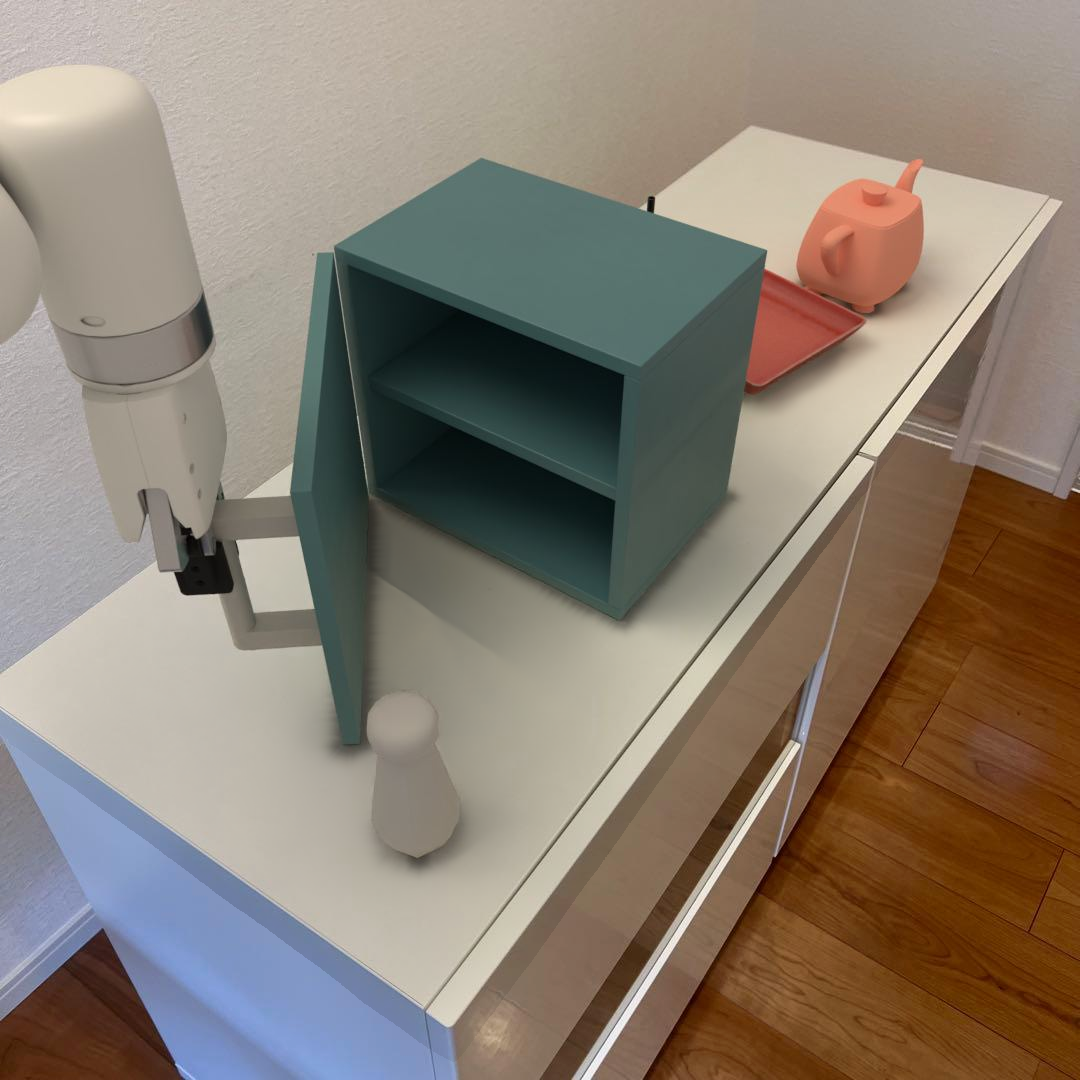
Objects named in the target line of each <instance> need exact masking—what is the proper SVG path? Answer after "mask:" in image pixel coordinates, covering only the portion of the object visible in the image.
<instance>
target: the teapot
mask: <svg viewBox="0 0 1080 1080" xmlns="http://www.w3.org/2000/svg"><path fill="white" fill-rule="evenodd" d="M923 164H924V160H923V159H921V158H917V159H914V160H912V161H910V162H909V163H908V164H907V166H906V167H905V169H903V171H902V174H901V175H900V177H899V179H898V180H897V181H896V184H895V185H894V186H892V185H890V184H886V183H882V182H880V181H876V180H872V179H868V178H857V179H853V180H851V181H848V182H846V183H845V184H843V185H841V186H839V187H837V188H836V189H835V190H834V191H832V192H831V193H830V194H829V195H827V197H826V198H825V199H824V200H823V201H822V203H821V205H820V206H819V208H818V210H817V211H816V213H815V214H814V217H813V218H812V220H811V222H810V224H809V225H808V227H807V230H806V231H805V234H804V236H803V238H802V241H801V243H800V247H799V250H798V253H797V258H796V265H795V266H796V272H797V275H798V278H799V280H800V282H801V283H802V284H803V285H805V286H804V288H806V289H807V290H810V291H812V292H813V293H816V294H818V295H824V294H825V295H828V296H830V297H833V298H835V299H838V300H841V301H844V302H846V303H849V304H851V307H852V309H853V310H854V311H856V312H859V313H861V314H870V313H872V312H874V310H875V305H877V304H880V303H882V302H883V301H885V300H887V299H888V298H890V297H892V296H893V295H895V294H896V293H898V292H899V291H900V290H901V289H902V288H903V287H904V286H905V284H906V283H907V282H908V281H909V280H910V279H911V278H912V276H913V275H914V273H915V271H916V270H917V268H918V265H919V263H920V260H921V257H922V253H923V252H922V251H923V246H924V236H925V235H924V234H925V222H924V208H923V200H922V198H921V197H920V196H919V195H917V194H915V193H913V190H914V185H915V182H916V178H917V175H918V173H919V172H920V170H921V168H922V167H923Z"/></svg>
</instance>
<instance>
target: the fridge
mask: <svg viewBox="0 0 1080 1080" xmlns="http://www.w3.org/2000/svg"><path fill="white" fill-rule="evenodd" d="M333 253H334V259H335V266H336V273H337V280H338V287H339V294H340V301H341V307H342V314H343V321H344V328H345V335H346V342H347V349H348V356H349V363H350V370H351V377H352V384H353V391H354V398H355V405H356V412H357V419H358V426H359V433H360V440H361V447H362V454H363V461H364V468H365V474H366V481H367V488H368V494H370V495H372V496H374V497H376V498H378V499H379V500H381V501H383V502H386V504H390V505H391V506H393V507H395V508H397V509H400V511H403V512H405V513H407V514H408V515H411V516H413V517H415V518H417V519H419V520H421V521H423V522H425V523H427V524H429V525H431V526H433V527H434V528H436V529H438V530H441V531H442V532H444V533H446V534H448V535H450V536H452V537H454V538H456V539H458V540H460V541H462V542H463V543H466V544H468V545H470V546H471V547H474V548H475V549H478V550H480V551H482V552H484V553H486V554H488V555H489V556H492V557H493V558H495V559H497V560H500V561H502V562H503V563H505V564H507V565H509V566H511V567H513V568H515V569H517V570H518V571H521V572H523V573H525V574H527V575H529V576H530V577H533V578H534V579H536V580H539V581H541V582H542V583H544V584H546V585H549V586H550V587H552V588H554V589H557V590H558V591H561V592H562V593H564V594H566V595H568V596H570V597H572V598H574V599H576V600H578V601H580V602H582V603H584V604H586V605H588V606H589V607H591V608H593V609H596V610H598V611H599V612H602V613H603V614H605V615H608V616H609V617H612V619H615V620H617V621H621V620H622V619H623V618H624V617H625V616H626V614H627V613H628V612H629V610H631V608H632V607H633V606H634V605H635V604H636V602H637V601H638V600H640V598H641V597H642V596H643V595H644V593H645V592H646V591H647V590H648V588H649V587H650V586H651V585H652V584H653V583H654V581H655V580H656V579H658V577H659V576H660V574H661V573H662V572H663V571H664V570H665V569H666V568H667V567H668V565H669V564H671V562H672V561H673V560H674V558H675V557H676V556H677V555H678V554H679V552H680V551H681V550H682V549H683V548H684V547H685V546H686V544H687V543H688V542H689V541H690V540H691V538H693V536H695V534H696V533H697V531H698V530H699V529H700V528H701V527H702V526H703V524H705V522H706V521H708V519H709V518H710V517H711V516H712V514H713V513H714V512H715V511H716V509H717V508H718V507H719V506H720V505H721V504H722V503H723V502H724V500H725V499H726V498H727V495H728V488H729V484H730V483H729V482H730V476H731V471H732V465H733V459H734V452H735V447H736V441H737V435H738V429H739V424H740V417H741V411H742V406H743V400H744V399H743V398H744V394H745V392H744V388H745V382H746V376H747V370H748V364H749V358H750V352H751V346H752V341H753V335H754V329H755V323H756V317H757V311H758V305H759V299H760V293H761V287H762V281H763V275H764V269H766V261H767V255H768V249H766V248H762V247H760V246H756V245H753V244H749V243H747V242H744V241H741V240H739V239H735V238H731V237H729V236H725V235H722V234H719V233H716V232H713V231H710V230H707V229H703V228H702V227H701V228H700V227H697V226H694V225H691V224H689V223H685V222H682V221H678V220H675V219H673V218H669V217H666V216H663V215H660V214H657V213H655V212H654V213H651V212H648V211H647V210H645V209H642V208H638V207H635V206H632V205H629V204H626V203H622V202H620V201H616V200H613V199H610V198H607V197H604V196H601V195H598V194H595V193H593V192H589V191H585V190H583V189H579V188H576V187H574V186H570V185H567V184H563V183H561V182H558V181H555V180H551V179H549V178H546V177H543V176H539V175H536V174H533V173H530V172H527V171H524V170H520V169H517V168H514V167H511V166H509V165H505V164H502V163H499V162H496V161H493V160H490V159H488V158H487V159H486V158H483V157H480V158H478V159H477V160H475V161H473V162H471V163H470V164H468V165H466V166H465V167H463V168H462V169H460V170H458V171H456V172H455V173H453V174H452V175H450V176H448V177H447V178H444V179H443V180H441V181H440V182H438V183H437V184H434V185H433V186H431V187H430V188H428V189H426V190H425V191H423V192H421V193H420V194H418V195H416V196H415V197H413V198H411V199H409V200H408V201H406V202H404V203H403V204H401V205H400V206H398V207H396V208H394V209H393V210H391V211H389V212H388V213H386V214H385V215H382V216H381V217H380V218H377V219H376V220H374V221H373V222H371V223H370V224H368V225H366V226H364V227H362V228H361V229H359V230H358V231H355V233H354V232H353V234H351V235H349V236H348V237H346V238H344V239H343V240H341V241H339V242H338V243H336V244H334V245H333Z"/></svg>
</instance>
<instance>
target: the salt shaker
mask: <svg viewBox="0 0 1080 1080" xmlns="http://www.w3.org/2000/svg"><path fill="white" fill-rule="evenodd" d="M366 719H367V721H366V736H367V740H368V742H369V744H370V746H371V748H372V750H373V752H374V753H375V754H376V763H375V764H376V765H375V773H374V774H375V775H374V784H373V792H372V802H371V817H370V821H371V823H372V825H373V828H374V829H375V831H376V833H377V836H378V837H379V840H380V841H381V842H383V843H384V844H385V845H387V846H388V847H390V848H391V849H393V850H395V851H396V852H400V853H402V854H403V853H404V854H406V855H408V856H410V857H412V858H416V859H418V858H421V857H423V856H425V855H428V854H429V853H432V852H433V851H436V850H438V849H440V848H442V847H444V845H445V844H446V843H447V842H448V841H449V839H450V838H451V837H452V834H453V832H454V830H455V828H456V827H457V825H458V823H459V820H460V812H461V811H460V806H461V805H460V804H461V798H460V796H459V794H458V791H457V789H456V788H455V787H456V786H455V785H454V783H453V781H452V778H451V776H450V774H449V771H448V769H447V767H446V765H445V763H444V760H443V758H442V756H441V753H440V751H439V749H438V747H437V745H436V742H437V740H438V739H439V737H440V736H439V734H440V733H439V732H440V716H439V713H438V711H437V709H436V708H435V706H434V703H433V702H432V701H431V699H429V698H428V697H426V696H425V695H423V694H422V693H420V692H417V691H411V690H404V689H403V690H399V691H393V692H389V693H387V694H385V695H384V696H382V697H380V698H379V699H377V700H376V701H374V703H373V705H372V706H371V708H370V709H369V711H368V712H367V718H366Z"/></svg>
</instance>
